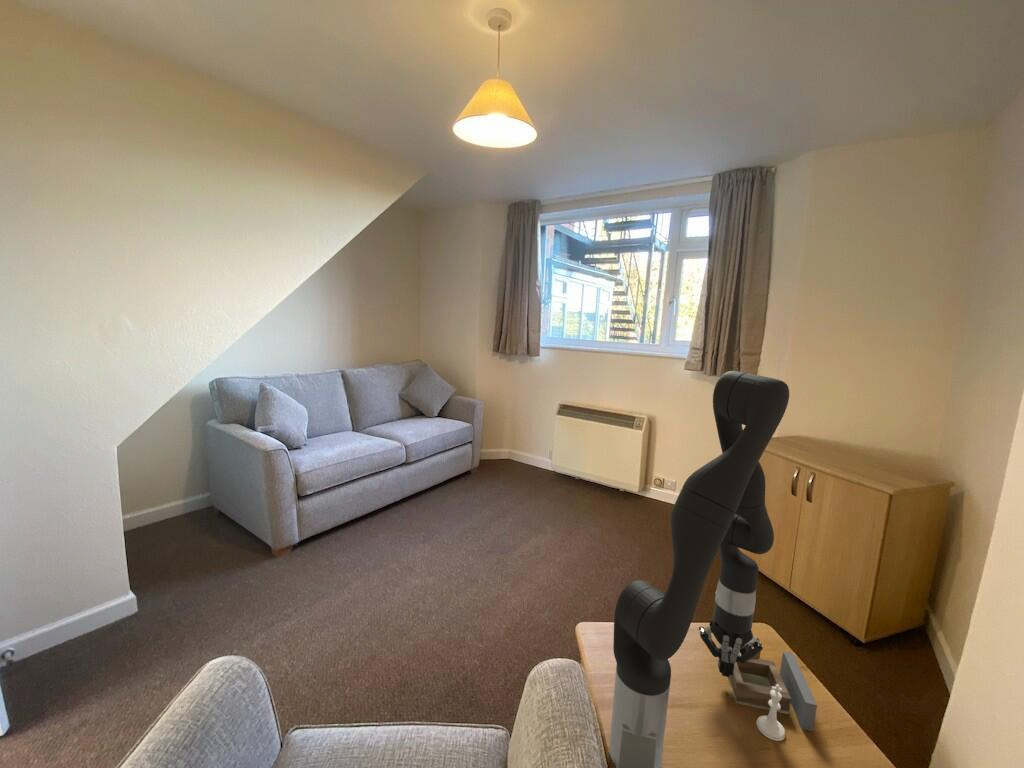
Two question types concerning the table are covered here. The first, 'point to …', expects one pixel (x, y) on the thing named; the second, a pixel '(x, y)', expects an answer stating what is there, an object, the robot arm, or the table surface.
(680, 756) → the table surface
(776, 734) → the chess piece
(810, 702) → the backstop wall
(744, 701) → the socket block
